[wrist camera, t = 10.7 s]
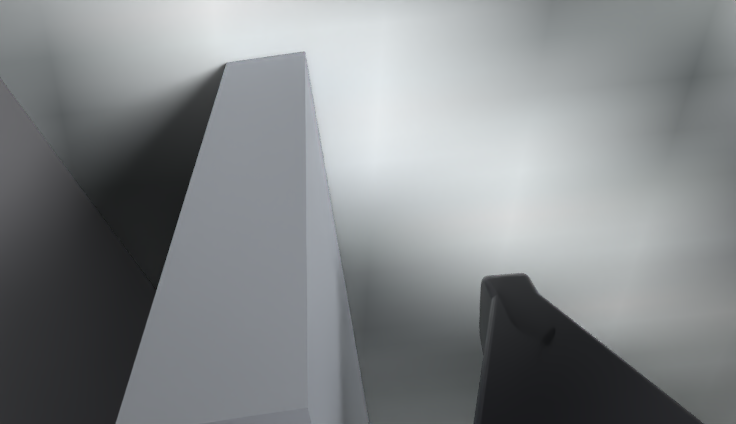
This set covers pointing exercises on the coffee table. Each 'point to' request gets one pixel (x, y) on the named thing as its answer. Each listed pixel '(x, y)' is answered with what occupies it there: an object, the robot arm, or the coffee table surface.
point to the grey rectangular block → (60, 289)
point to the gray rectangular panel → (252, 273)
